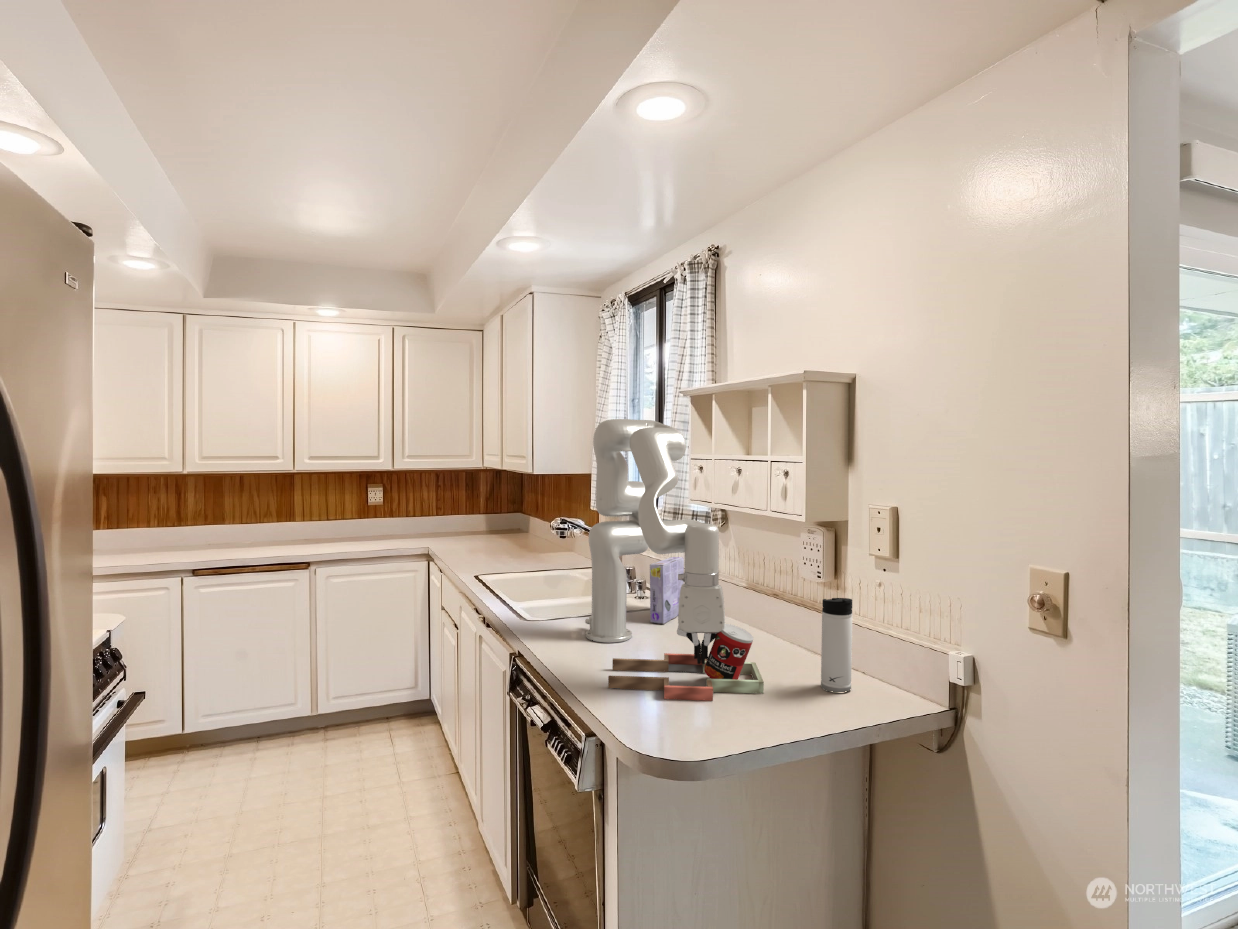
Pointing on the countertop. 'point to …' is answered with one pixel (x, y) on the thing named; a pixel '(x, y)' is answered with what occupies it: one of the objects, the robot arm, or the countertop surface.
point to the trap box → (685, 665)
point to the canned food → (728, 653)
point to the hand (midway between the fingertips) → (700, 661)
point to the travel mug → (836, 644)
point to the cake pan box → (665, 589)
